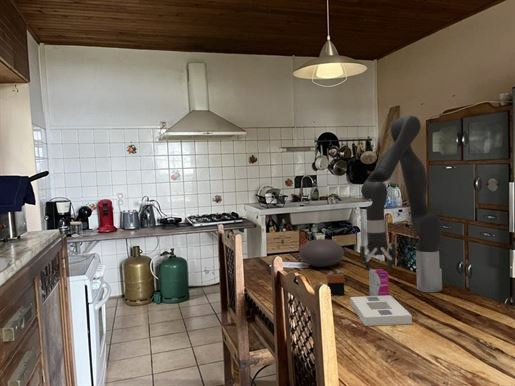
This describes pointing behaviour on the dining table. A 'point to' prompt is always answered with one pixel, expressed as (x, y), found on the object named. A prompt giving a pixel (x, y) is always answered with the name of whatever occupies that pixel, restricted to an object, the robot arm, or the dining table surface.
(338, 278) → the battery
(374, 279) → the supplement box
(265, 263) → the dining table surface
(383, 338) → the dining table surface
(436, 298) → the dining table surface
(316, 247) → the smooth stone
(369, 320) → the light grey flat block
